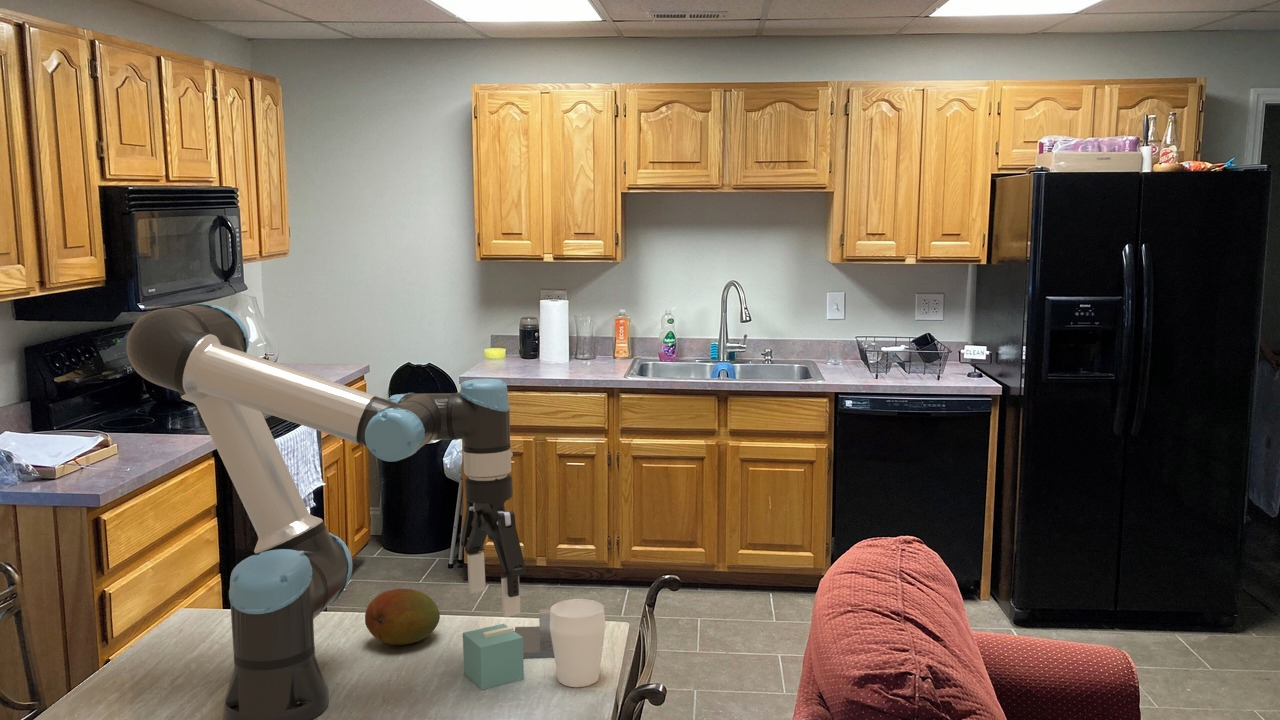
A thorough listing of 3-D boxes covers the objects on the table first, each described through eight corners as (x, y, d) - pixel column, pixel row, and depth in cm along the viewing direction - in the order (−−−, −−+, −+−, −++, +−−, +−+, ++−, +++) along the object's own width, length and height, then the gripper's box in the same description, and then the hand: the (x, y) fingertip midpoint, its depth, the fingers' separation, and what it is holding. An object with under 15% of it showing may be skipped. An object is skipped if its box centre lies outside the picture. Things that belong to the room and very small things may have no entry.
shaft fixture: (509, 658, 173) (508, 624, 173) (515, 632, 185) (514, 600, 185) (579, 656, 174) (579, 623, 173) (581, 630, 186) (580, 599, 185)
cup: (598, 693, 160) (597, 619, 158) (543, 688, 161) (542, 616, 160) (611, 669, 168) (610, 600, 167) (559, 665, 170) (558, 597, 169)
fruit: (355, 647, 179) (353, 593, 178) (404, 624, 190) (402, 573, 189) (405, 660, 173) (403, 604, 172) (452, 635, 184) (451, 582, 183)
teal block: (481, 689, 161) (480, 643, 160) (463, 673, 167) (462, 629, 167) (523, 678, 165) (522, 634, 164) (504, 663, 171) (503, 620, 171)
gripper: (544, 486, 154) (549, 620, 156) (479, 459, 175) (484, 578, 177) (499, 493, 150) (504, 631, 152) (437, 465, 171) (443, 586, 173)
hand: (493, 603), depth 165 cm, fingers open, 13 cm apart
